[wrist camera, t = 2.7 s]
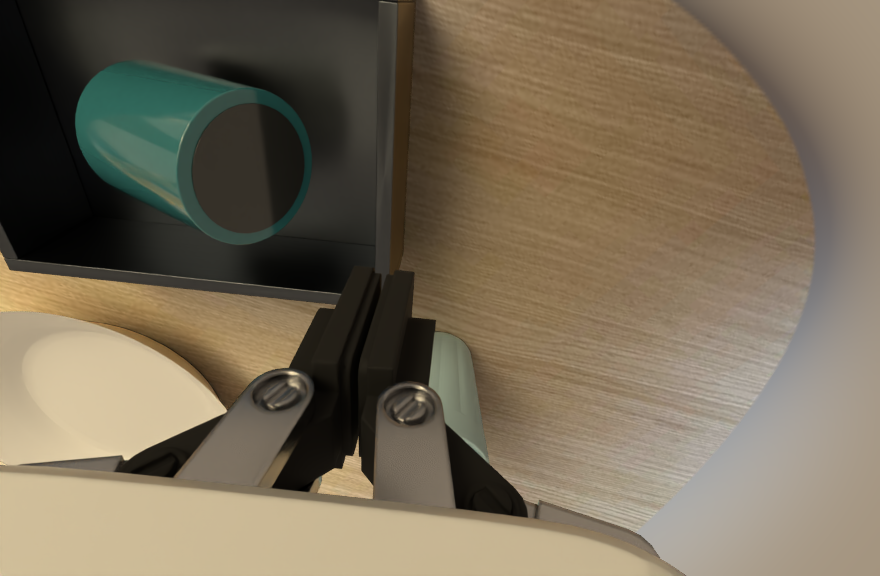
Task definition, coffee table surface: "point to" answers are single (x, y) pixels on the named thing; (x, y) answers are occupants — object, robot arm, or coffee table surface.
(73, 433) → the white plate
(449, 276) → the coffee table surface
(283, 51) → the dark grey shallow box
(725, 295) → the coffee table surface
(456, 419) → the cup
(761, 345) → the coffee table surface
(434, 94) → the coffee table surface
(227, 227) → the pot
